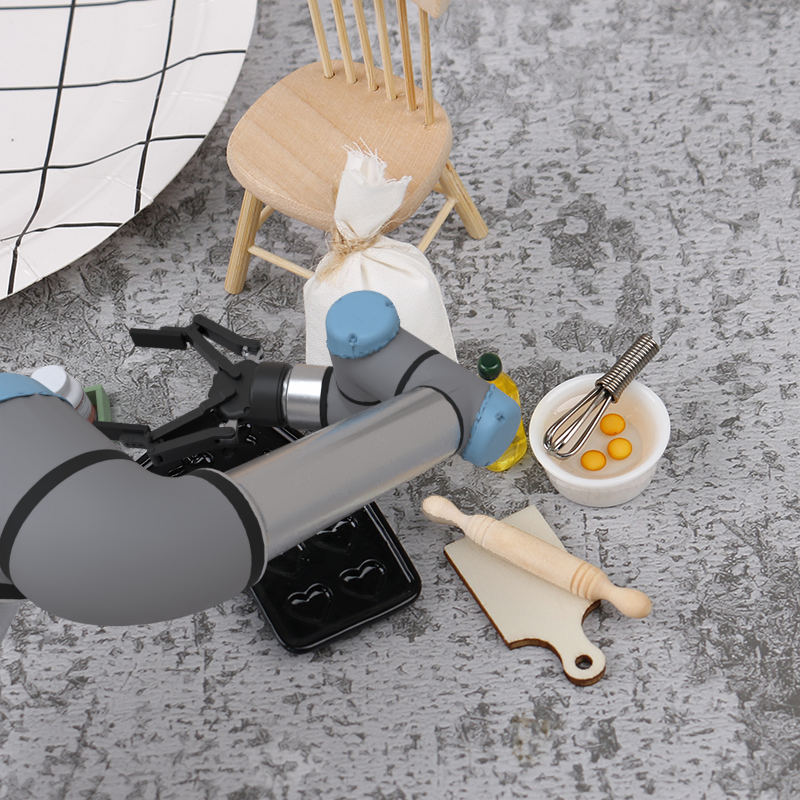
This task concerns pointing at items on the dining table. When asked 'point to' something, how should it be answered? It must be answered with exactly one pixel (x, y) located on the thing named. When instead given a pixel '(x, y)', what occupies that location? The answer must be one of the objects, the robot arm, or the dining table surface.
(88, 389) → the holder
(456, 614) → the dining table surface
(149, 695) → the dining table surface
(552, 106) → the dining table surface
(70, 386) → the pill bottle
